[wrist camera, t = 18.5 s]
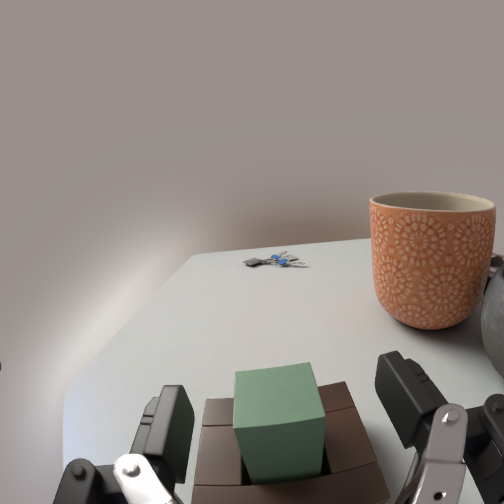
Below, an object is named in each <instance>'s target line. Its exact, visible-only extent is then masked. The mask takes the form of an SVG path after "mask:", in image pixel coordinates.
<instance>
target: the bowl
mask: <svg viewBox="0 0 504 504" xmlns="http://www.w3.org/2000/svg"><path fill="white" fill-rule="evenodd" d="M480 324H481V334H482V339H483V345H484V348H485V350H486V353H487V355H488V357H489V359H490V361H491V363H492V365H493V366H494V367H495V369H496V370H497V371H498V372H499V373H500V374H501V375H502V376H503V377H504V264H502V265H501V266H500V267H499V268H498V269H497V270H496V272H495V273H494V275H493V276H492V278H491V280H490V282H489V284H488V287H487V289H486V292H485V295H484V298H483V303H482V308H481V317H480Z"/></svg>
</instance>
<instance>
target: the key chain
mask: <svg viewBox="0 0 504 504" xmlns="http://www.w3.org/2000/svg"><path fill="white" fill-rule="evenodd" d="M285 253H287V251H284V252H282V253H280V254H278V255H272V256H271V258H269V259H264V260H262V259H260V260H259V259H256V258H253V259H250V260H247V261H244V262H243V263H246V264H248V265H254V264H257V263H262V262H265V263H266V262H267V263H273V262H278V264H279V265H283V264H285V263H293V264H305V263H301V262H290V261H289V260H294V259H298V258H297V257H295V256H294V255H292V256H287V257H282V258H280V257H281V256H282V255H284V254H285ZM278 258H279V261H276V259H277V260H278ZM268 260H270V261H268ZM272 260H274V261H272Z"/></svg>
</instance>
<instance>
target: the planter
mask: <svg viewBox="0 0 504 504" xmlns="http://www.w3.org/2000/svg"><path fill="white" fill-rule="evenodd" d="M369 208H370V224H371V243H372V267H373V279H374V287H375V291H376V295H377V297H378V300H379V302H380V303H381V305H382V306H383V307H384V309H385V310H386V311H387V312H388V313H389V314H390V315H391V316H393V317H394V318H395V319H397V320H398V321H400V322H402V323H403V324H406V325H408V326H411V327H414V328H418V329H424V330H438V329H444V328H448V327H451V326H453V325H456V324H458V323H460V322H461V321H463V320H465V319H466V318H467V317H468V316H470V315H471V314H472V313H473V311H474V310H475V309H476V307H477V306H478V304H479V302H480V300H481V298H482V295H483V292H484V289H485V286H486V283H487V278H488V274H489V269H490V264H491V257H492V250H493V242H494V233H495V223H496V205H495V204H494V203H493V202H491V201H489V200H487V199H483V198H480V197H476V196H470V195H465V194H457V193H447V192H427V191H426V192H425V191H423V192H422V191H421V192H420V191H415V192H414V191H413V192H396V193H387V194H381V195H377V196H374V197H372V198H371V199H370V200H369Z"/></svg>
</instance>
